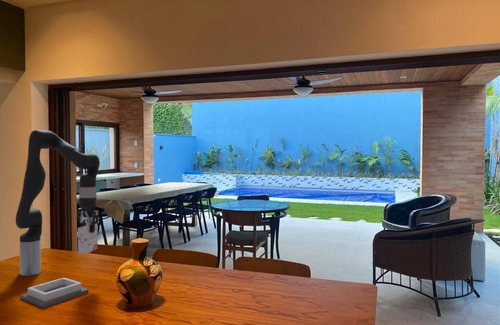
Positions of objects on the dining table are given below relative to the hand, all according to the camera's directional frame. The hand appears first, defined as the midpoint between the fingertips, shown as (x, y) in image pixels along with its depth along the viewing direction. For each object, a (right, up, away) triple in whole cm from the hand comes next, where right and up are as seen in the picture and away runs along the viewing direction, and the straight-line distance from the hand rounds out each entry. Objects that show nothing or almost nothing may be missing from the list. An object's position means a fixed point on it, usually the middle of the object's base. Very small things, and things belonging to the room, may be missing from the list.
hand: (87, 231), depth 176 cm
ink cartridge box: (0, -9, 0) cm, 9 cm away
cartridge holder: (-9, -26, -13) cm, 30 cm away
